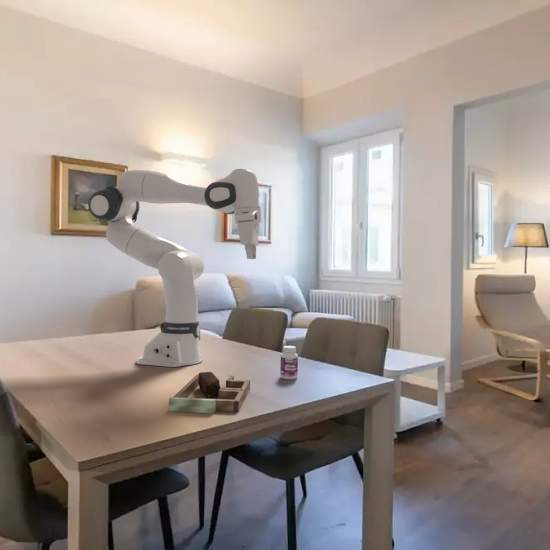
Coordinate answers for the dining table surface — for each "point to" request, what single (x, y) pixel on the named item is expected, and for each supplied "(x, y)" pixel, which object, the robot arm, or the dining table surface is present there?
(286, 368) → the pill bottle
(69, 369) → the dining table surface
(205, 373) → the brick
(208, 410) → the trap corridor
